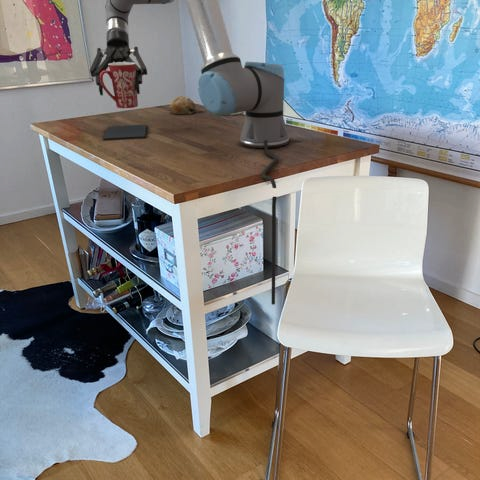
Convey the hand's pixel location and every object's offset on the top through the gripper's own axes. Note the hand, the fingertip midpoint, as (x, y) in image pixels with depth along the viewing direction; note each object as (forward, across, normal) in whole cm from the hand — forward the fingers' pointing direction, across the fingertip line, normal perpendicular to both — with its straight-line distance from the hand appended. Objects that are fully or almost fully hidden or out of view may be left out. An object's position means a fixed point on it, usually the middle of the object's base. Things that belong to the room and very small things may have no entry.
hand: (119, 92), depth 173 cm
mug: (+2, 0, -6) cm, 6 cm away
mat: (+8, 0, -12) cm, 14 cm away
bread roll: (-16, -20, -36) cm, 44 cm away
